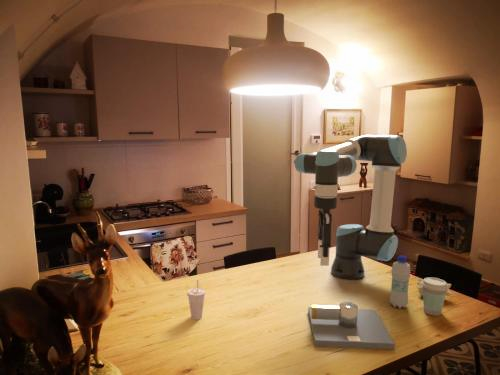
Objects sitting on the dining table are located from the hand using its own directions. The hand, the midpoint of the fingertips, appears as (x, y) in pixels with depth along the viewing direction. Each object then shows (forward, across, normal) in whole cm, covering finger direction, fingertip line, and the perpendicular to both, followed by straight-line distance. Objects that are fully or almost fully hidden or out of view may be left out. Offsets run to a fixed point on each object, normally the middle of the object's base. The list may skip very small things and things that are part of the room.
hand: (323, 261), depth 129 cm
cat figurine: (+21, -22, +48) cm, 56 cm away
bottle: (+21, -12, +31) cm, 39 cm away
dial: (+19, +7, +3) cm, 20 cm away
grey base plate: (+21, +7, +8) cm, 24 cm away
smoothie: (+21, +3, -44) cm, 49 cm away
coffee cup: (+21, -8, +42) cm, 48 cm away
